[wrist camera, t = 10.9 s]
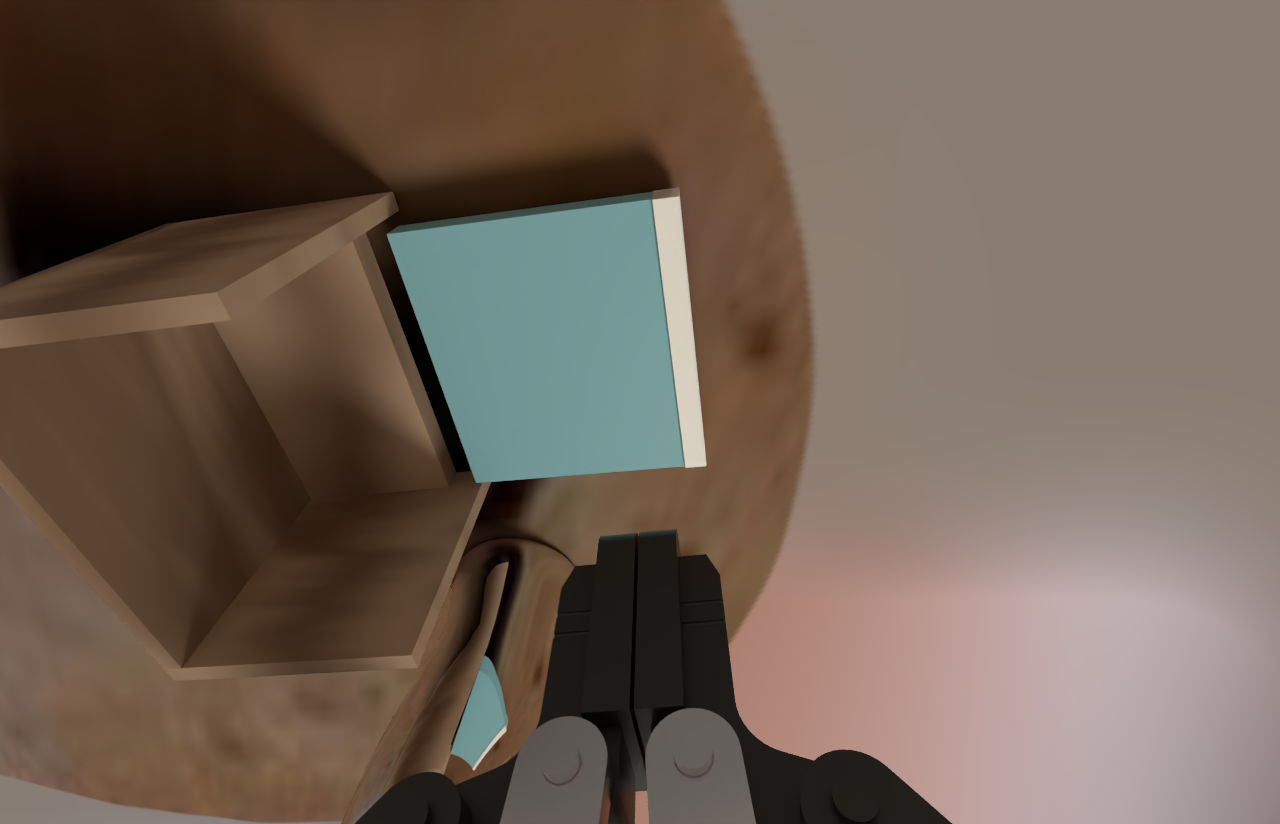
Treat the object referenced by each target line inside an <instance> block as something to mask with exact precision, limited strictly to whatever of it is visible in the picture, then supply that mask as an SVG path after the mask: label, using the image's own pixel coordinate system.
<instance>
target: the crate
mask: <svg viewBox="0 0 1280 824" xmlns="http://www.w3.org/2000/svg"><path fill="white" fill-rule="evenodd" d="M397 211H399V208H398V205H397V202H396V199H395V196H394V193H393V192H386V193H379V194H372V195H365V196H358V197H351V198H344V199H337V200H330V201H323V202H316V203H309V204H302V205H295V206H288V207H281V208H274V209H267V210H260V211H253V212H246V213H239V214H232V215H225V216H218V217H211V218H204V219H197V220H189V221H182V222H175V223H168V224H165V225H162V226H159V227H157V228H154V229H151V230H149V231H146V232H144V233H141V234H138V235H136V236H133V237H130V238H128V239H125V240H122V241H120V242H117V243H114V244H112V245H109V246H106V247H104V248H101V249H99V250H96V251H93V252H91V253H88V254H85V255H83V256H80V257H77V258H75V259H72V260H69V261H67V262H64V263H62V264H59V265H56V266H54V267H51V268H48V269H46V270H43V271H40V272H38V273H35V274H32V275H30V276H27V277H24V278H22V279H19V280H17V281H14V282H11V283H9V284H6V285H3V286H1V287H0V486H1V488H2V489H3V490H4V491H5V492H6V493H7V494H8V495H9V497H10V498H11V499H12V500H13V501H14V502H15V503H16V504H17V505H18V507H19V508H20V509H21V510H22V511H23V512H24V513H25V514H26V516H27V517H28V518H29V519H30V520H31V521H32V522H33V523H34V524H35V526H36V527H37V528H38V529H39V530H40V531H41V532H42V533H43V535H44V536H45V537H46V538H47V539H48V540H49V541H50V542H51V543H52V545H53V546H54V547H55V548H56V549H57V550H58V551H59V552H60V554H61V555H62V556H63V557H64V558H65V559H66V560H67V561H68V562H69V564H70V565H71V566H72V567H73V568H74V569H75V570H76V571H77V573H78V574H79V575H80V576H81V577H82V578H83V579H84V580H85V582H86V583H87V584H88V585H89V586H90V587H91V588H92V589H93V590H94V592H95V593H96V594H97V595H98V596H99V597H100V598H101V599H102V601H103V602H104V603H105V604H106V605H107V606H108V607H109V608H110V609H111V611H112V612H113V613H114V614H115V615H116V616H117V617H118V618H119V620H120V621H121V622H122V623H123V624H124V625H125V626H126V627H127V628H128V630H129V631H130V632H131V633H132V634H133V635H134V636H135V637H136V639H137V640H138V641H139V642H140V643H141V644H142V645H143V646H144V647H145V649H146V650H147V651H148V652H149V653H150V654H151V655H152V656H153V658H154V659H155V660H156V661H157V662H158V663H159V664H160V665H161V666H162V668H163V669H164V670H165V671H166V672H167V673H168V674H169V675H170V677H171V678H172V679H173V680H174V681H182V680H201V679H220V678H238V677H257V676H275V675H294V674H313V673H331V672H350V671H368V670H387V669H406V668H418V666H419V664H420V661H421V659H422V656H423V653H424V651H425V648H426V646H427V643H428V641H429V638H430V636H431V633H432V631H433V628H434V626H435V623H436V620H437V618H438V615H439V613H440V610H441V608H442V605H443V603H444V600H445V598H446V595H447V593H448V590H449V587H450V585H451V582H452V580H453V577H454V575H455V572H456V570H457V567H458V565H459V562H460V560H461V557H462V554H463V552H464V549H465V547H466V544H467V542H468V539H469V537H470V534H471V532H472V529H473V527H474V524H475V522H476V519H477V516H478V514H479V511H480V509H481V506H482V504H483V501H484V499H485V496H486V494H487V491H488V489H489V486H490V483H491V482H483V483H476V481H475V479H474V476H473V473H472V471H465V472H456V470H455V468H454V465H453V462H452V460H451V457H450V455H449V452H448V449H447V447H446V444H445V441H444V439H443V436H442V433H441V431H440V428H439V425H438V423H437V420H436V417H435V415H434V412H433V409H432V407H431V404H430V402H429V399H428V396H427V394H426V391H425V388H424V386H423V383H422V380H421V378H420V375H419V372H418V370H417V367H416V364H415V362H414V359H413V357H412V354H411V351H410V349H409V346H408V343H407V341H406V338H405V335H404V333H403V330H402V327H401V325H400V322H399V319H398V317H397V314H396V311H395V309H394V306H393V304H392V301H391V298H390V296H389V293H388V290H387V288H386V285H385V282H384V280H383V277H382V274H381V272H380V269H379V266H378V264H377V261H376V259H375V256H374V253H373V251H372V248H371V245H370V243H369V240H368V237H367V235H366V232H367V231H368V230H370V229H372V228H373V227H375V226H376V225H378V224H379V223H381V222H382V221H384V220H385V219H387V218H388V217H390V216H391V215H393V214H394V213H396V212H397Z"/></svg>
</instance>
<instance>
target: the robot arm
mask: <svg viewBox="0 0 1280 824" xmlns="http://www.w3.org/2000/svg"><path fill="white" fill-rule="evenodd" d="M557 614H558V617H557V618H556V624H555V630H554V638H553V642H552V648H551V654H550V660H549V666H548V672H547V678H546V684H545V690H544V697H543V703H542V709H541V714H540V718H539V722H538V725H537V727H536V730H535V731H533V732H532V734H531V735H530V736H529V737H528V738H527V739H526V741H525V742H524V744H523V745H522V747H521V749H520V751H519V753H518V754H517V755H515V756H514V757H513V758H512V759H511V760H509V761H507V762H506V763H504V764H503V765H501V766H499V767H497V768H495V769H492V770H490V771H488V772H485V773H483V774H480V775H478V776H476V777H473V778H471V779H468V780H466V781H464V782H461V783H459V784H456V785H455V784H454V783H453V782H452V780H451V779H449V778H448V777H447V776H445V775H443V774H441V773H437V772H421V773H417V774H414V775H411V776H409V777H407V778H405V779H403V780H401V781H400V782H398V783H397V784H395V785H394V786H393V787H391V788H390V789H389V790H388V791H387V792H386V793H385V794H384V795H383V796H382V797H381V798H380V799H379V800H378V801H377V802H376V803H375V804H374V805H373V806H372V807H371V808H370V809H369V810H368V811H367V812H366V813H365V814H364V815H363V816H362V817H361V818H360V819H359V820H358V821H357V822H356V823H355V824H635V791H647V793H648V810H649V824H952V823H950V822H949V821H948V820H947V819H946V818H945V817H944V816H943V815H941V814H940V813H939V812H938V811H937V810H936V809H935V808H934V807H932V806H931V805H930V804H929V803H928V802H927V801H925V800H924V799H923V798H922V797H921V796H920V795H919V794H918V793H916V792H915V791H914V790H913V789H912V788H911V787H910V786H908V785H907V784H906V783H905V782H904V781H903V780H902V779H900V778H899V777H898V776H897V775H896V774H895V773H894V772H892V771H891V770H890V769H889V768H888V767H886V766H885V765H884V764H883V763H881V762H880V761H878V760H877V759H875V758H873V757H871V756H869V755H867V754H864V753H862V752H858V751H853V750H836V751H831V752H828V753H825V754H823V755H821V756H820V757H818V758H817V759H816V760H814V761H813V760H810V759H806V758H803V757H799V756H796V755H792V754H788V753H785V752H782V751H779V750H776V749H774V748H772V747H769V746H768V745H766V744H764V743H763V742H761V741H760V740H759V739H757V738H756V737H755V736H754V735H753V734H752V733H751V732H750V731H749V730H748V729H747V727H746V726H745V725H744V723H743V721H742V720H741V718H740V716H739V713H738V710H737V708H736V703H735V696H734V688H733V680H732V672H731V664H730V655H729V647H728V639H727V631H726V623H725V614H724V606H723V598H722V590H721V581H720V574H719V573H718V571H717V570H716V568H715V567H714V565H713V564H712V562H711V561H710V559H709V558H708V556H707V555H706V554H704V555H693V556H682V557H681V553H680V546H679V540H678V534H677V529H673V530H662V531H652V532H641V533H639V536H638V534H637V533H632V534H622V535H611V536H601V537H600V539H599V543H598V553H597V562H596V564H595V565H584V566H575V568H574V569H573V571H572V572H571V574H570V575H569V577H568V579H567V580H566V582H565V583H564V585H563V586H562V588H561V593H560V599H559V605H558V611H557Z"/></svg>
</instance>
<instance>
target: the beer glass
mask: <svg viewBox="0 0 1280 824" xmlns="http://www.w3.org/2000/svg"><path fill="white" fill-rule="evenodd" d="M574 568H575V567H574V566H573V565H572V563H571V562H570V561H569V560H568V559H567V558H566V557H564V556H563V555H562V554H561V553H559V552H558V551H556V550H554V549H553V548H551V547H549V546H547V545H544V544H542V543H539V542H535V541H532V540H527V539H520V538H501V539H495V540H490V541H487V542H484V543H481V544H479V545H477V546H475V547H474V548H472V549H471V550H470V551H468V552H467V553H466V554H465V556H464V557H463V558H462V559H461V561H460V563H459V565H458V567H457V570H456V573H455V578H454V584H453V590H452V597H451V604H450V609H449V613H448V617H447V620H446V623H445V626H444V629H443V631H442V634H441V636H440V638H439V640H438V642H437V645H436V646H435V648H434V650H433V652H432V653H431V655H430V657H429V659H428V660H427V662H426V664H425V666H424V667H423V669H422V671H421V672H420V674H419V675H418V677H417V679H416V680H415V682H414V684H413V685H412V687H411V688H410V690H409V692H408V693H407V695H406V697H405V698H404V700H403V702H402V703H401V705H400V707H399V708H398V710H397V712H396V713H395V715H394V717H393V718H392V720H391V722H390V723H389V725H388V727H387V728H386V730H385V732H384V734H383V736H382V738H381V740H380V741H379V743H378V745H377V747H376V749H375V751H374V752H373V754H372V756H371V758H370V760H369V762H368V764H367V765H366V768H365V770H364V772H363V774H362V777H361V779H360V781H359V783H358V785H357V788H356V790H355V792H354V794H353V797H352V799H351V801H350V803H349V806H348V808H347V810H346V813H345V815H344V818H343V821H342V823H341V824H355V823H356V822H357V821H358V820H359V819H360V818H361V817H362V816H363V815H364V814H365V813H366V812H367V811H368V810H369V809H370V808H371V807H372V806H373V805H374V804H375V803H376V802H377V801H378V800H379V799H380V798H381V797H382V796H383V795H384V794H385V793H386V792H387V791H388V790H389V789H390V788H391V787H393V786H394V785H395V784H397V783H398V782H400V781H401V780H403V779H405V778H407V777H409V776H411V775H414V774H417V773H421V772H437V773H441V774H443V775H445V776H447V777H448V778H449V779H451V780H452V782H453V783H454V784H455V785H456V784H459V783H461V782H464V781H466V780H468V779H471V778H473V777H476V776H478V775H480V774H483V773H485V772H488V771H490V770H492V769H495V768H497V767H499V766H501V765H503V764H504V763H506V762H507V761H509V760H511V759H512V758H513V757H514V756H515V755H517V754H518V753H519V751H520V749H521V747H522V745H523V744H524V742H525V741H526V739H527V738H528V737H529V736H530V735H531V734H532V732H533V731H535V730H536V727H537V725H538V722H539V718H540V714H541V709H542V703H543V697H544V690H545V684H546V678H547V672H548V666H549V660H550V654H551V648H552V642H553V638H554V630H555V624H556V618H557V617H558V614H557V611H558V605H559V599H560V593H561V588H562V586H563V585H564V583H565V582H566V580H567V579H568V577H569V575H570V574H571V572H572V571H573V569H574Z"/></svg>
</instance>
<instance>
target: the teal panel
mask: <svg viewBox="0 0 1280 824" xmlns="http://www.w3.org/2000/svg"><path fill="white" fill-rule="evenodd" d="M387 237H388V240H389V242H390V245H391V248H392V251H393V254H394V256H395V259H396V262H397V265H398V268H399V270H400V273H401V276H402V279H403V281H404V284H405V287H406V290H407V293H408V295H409V298H410V301H411V304H412V306H413V309H414V312H415V315H416V318H417V320H418V323H419V326H420V329H421V331H422V334H423V337H424V340H425V343H426V345H427V348H428V351H429V354H430V356H431V359H432V362H433V365H434V368H435V370H436V373H437V376H438V379H439V381H440V384H441V387H442V390H443V393H444V395H445V398H446V401H447V404H448V406H449V409H450V412H451V415H452V418H453V420H454V423H455V426H456V429H457V431H458V434H459V437H460V440H461V443H462V445H463V448H464V451H465V454H466V456H467V459H468V462H469V465H470V468H471V470H472V473H473V476H474V479H475V481H476V483H483V482H495V481H508V480H520V479H532V478H545V477H557V476H569V475H582V474H594V473H607V472H619V471H631V470H644V469H656V468H669V467H681V466H685V468H688V467H701V466H706V455H705V443H704V433H703V423H702V413H701V403H700V393H699V383H698V373H697V363H696V353H695V343H694V333H693V323H692V313H691V303H690V293H689V283H688V273H687V263H686V253H685V243H684V233H683V223H682V213H681V203H680V193H679V188H671V189H664V190H657V191H653V192H647V193H639V194H632V195H624V196H617V197H609V198H602V199H595V200H587V201H580V202H572V203H565V204H557V205H550V206H542V207H535V208H527V209H520V210H512V211H505V212H498V213H490V214H483V215H475V216H468V217H460V218H453V219H445V220H438V221H430V222H423V223H415V224H408V225H400V226H398V227H396V228H395V229H394V230H392V231H391V232H389V233H388V234H387Z"/></svg>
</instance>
